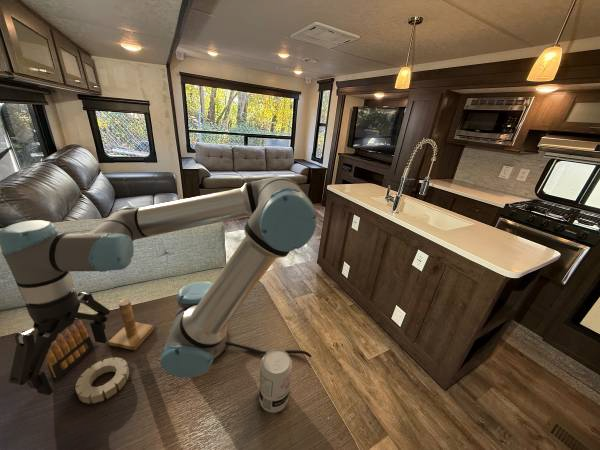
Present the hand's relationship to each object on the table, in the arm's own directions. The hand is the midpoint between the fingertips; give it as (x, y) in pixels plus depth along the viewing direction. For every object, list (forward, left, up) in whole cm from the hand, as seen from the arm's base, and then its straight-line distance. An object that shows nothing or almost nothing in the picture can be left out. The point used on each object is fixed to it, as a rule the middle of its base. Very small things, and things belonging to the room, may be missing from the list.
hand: (76, 364), depth 59 cm
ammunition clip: (+13, -8, -13) cm, 20 cm away
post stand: (+4, -19, -13) cm, 23 cm away
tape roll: (0, -4, -13) cm, 13 cm away
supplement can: (-47, -9, -13) cm, 50 cm away
